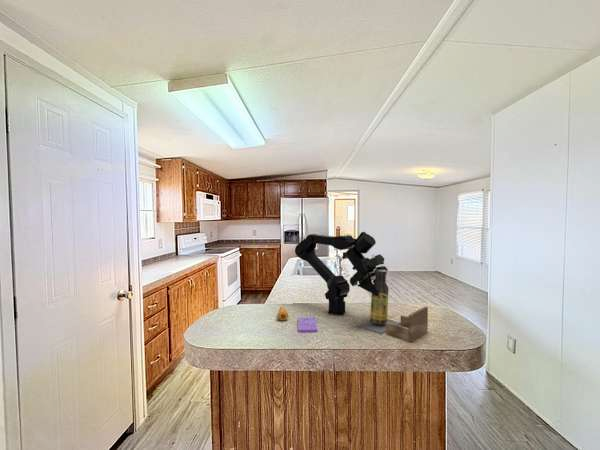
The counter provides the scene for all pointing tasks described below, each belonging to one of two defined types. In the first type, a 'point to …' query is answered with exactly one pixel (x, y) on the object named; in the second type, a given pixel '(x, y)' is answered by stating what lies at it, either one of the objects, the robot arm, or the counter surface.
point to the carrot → (282, 314)
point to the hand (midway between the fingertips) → (382, 293)
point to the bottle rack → (410, 326)
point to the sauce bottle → (379, 299)
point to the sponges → (307, 325)
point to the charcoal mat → (377, 326)
